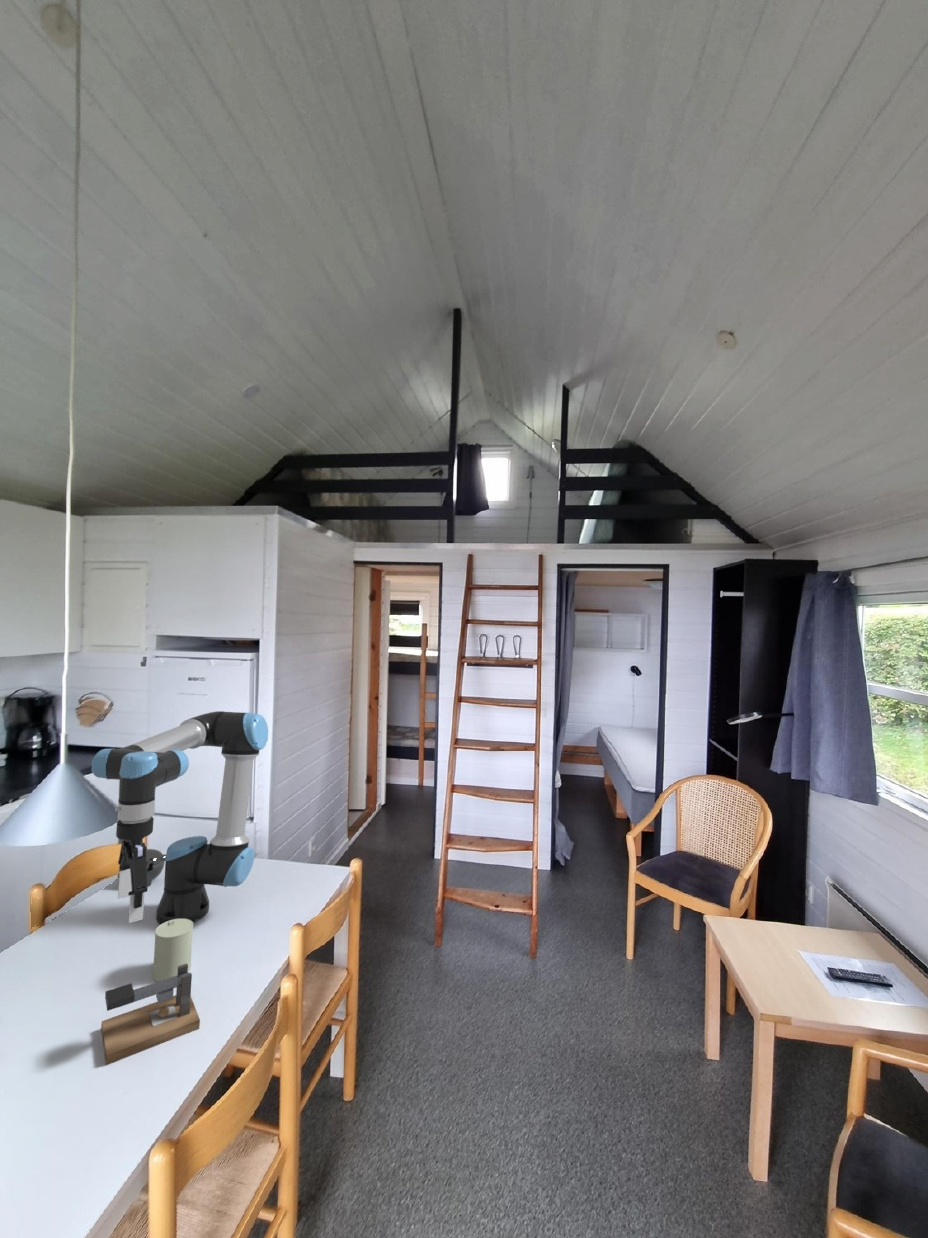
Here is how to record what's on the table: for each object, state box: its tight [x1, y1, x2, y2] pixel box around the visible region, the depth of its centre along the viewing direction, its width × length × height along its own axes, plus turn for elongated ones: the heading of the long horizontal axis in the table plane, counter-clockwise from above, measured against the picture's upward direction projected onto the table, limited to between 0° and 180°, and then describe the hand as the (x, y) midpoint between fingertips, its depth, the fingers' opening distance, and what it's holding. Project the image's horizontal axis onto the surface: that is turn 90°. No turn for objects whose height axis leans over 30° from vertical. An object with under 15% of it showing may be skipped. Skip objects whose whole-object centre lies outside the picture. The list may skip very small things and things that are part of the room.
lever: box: [104, 971, 189, 1012], centre depth 121 cm, size 5×17×4 cm, turn 129°
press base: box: [100, 963, 201, 1066], centre depth 122 cm, size 12×18×11 cm, turn 129°
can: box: [151, 919, 194, 982], centre depth 142 cm, size 9×9×12 cm
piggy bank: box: [118, 848, 166, 888], centre depth 189 cm, size 11×15×12 cm
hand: (129, 908), depth 126 cm, fingers open, 13 cm apart
